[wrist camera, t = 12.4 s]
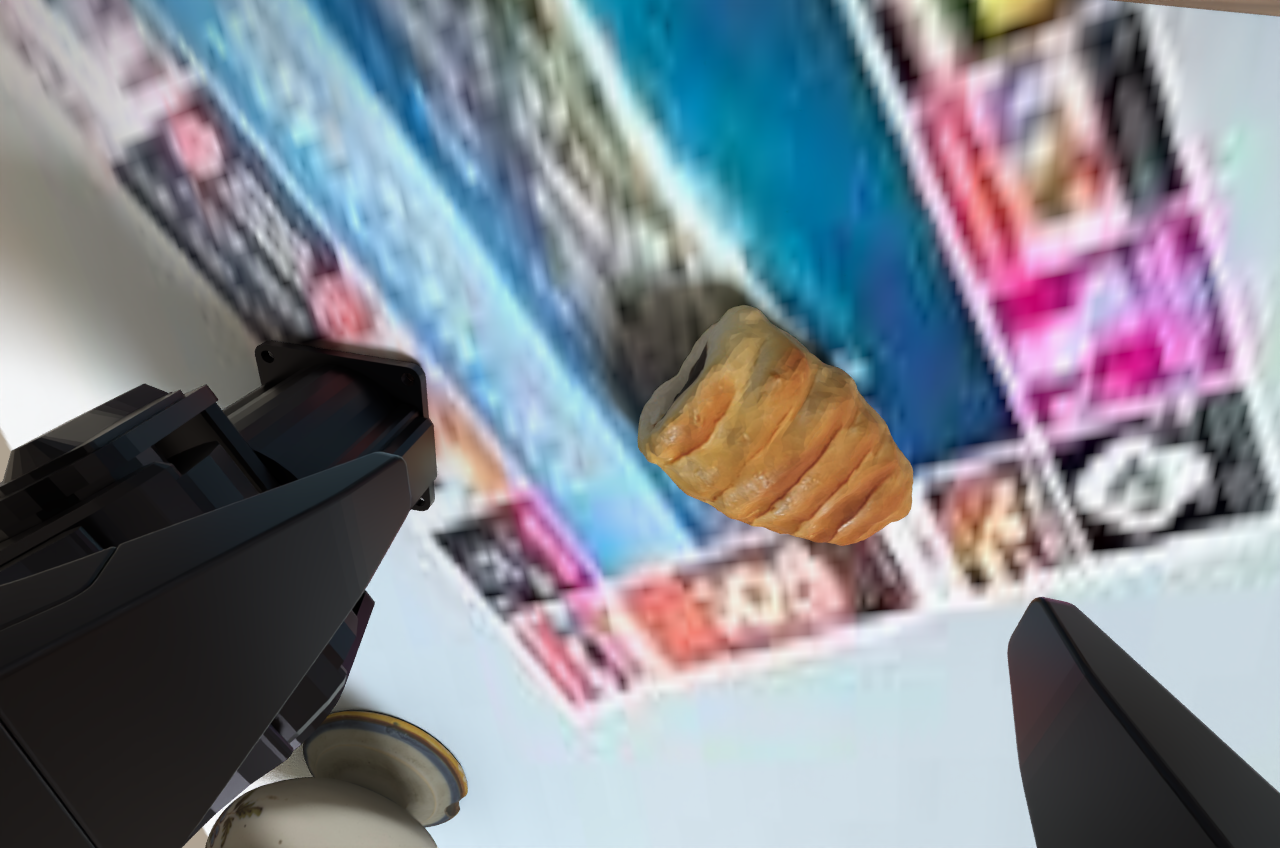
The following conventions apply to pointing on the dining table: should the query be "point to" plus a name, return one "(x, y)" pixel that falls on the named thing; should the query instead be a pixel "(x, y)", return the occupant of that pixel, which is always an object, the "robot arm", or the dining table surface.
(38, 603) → the robot arm
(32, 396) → the dining table surface
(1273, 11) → the brown flat square frame
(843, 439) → the pastry
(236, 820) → the apothecary jar
